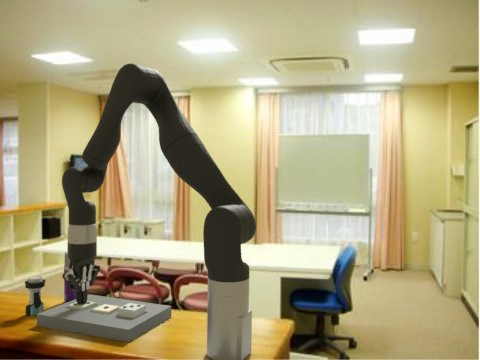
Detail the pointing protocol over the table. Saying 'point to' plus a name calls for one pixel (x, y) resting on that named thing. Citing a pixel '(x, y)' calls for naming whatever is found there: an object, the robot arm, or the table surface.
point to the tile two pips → (82, 306)
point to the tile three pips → (131, 310)
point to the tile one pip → (106, 309)
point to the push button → (35, 295)
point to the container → (68, 292)
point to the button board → (104, 319)
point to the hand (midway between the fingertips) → (81, 303)
